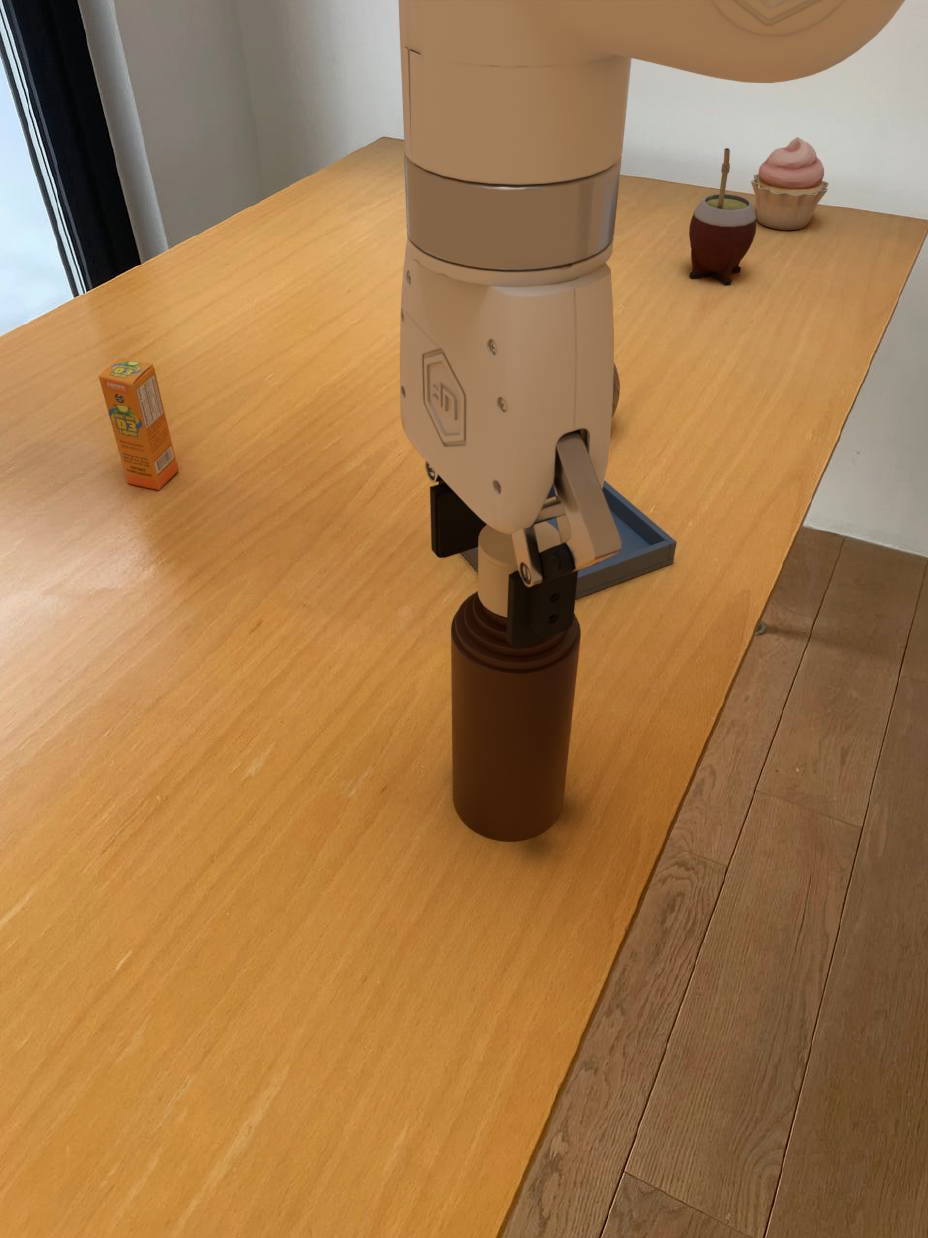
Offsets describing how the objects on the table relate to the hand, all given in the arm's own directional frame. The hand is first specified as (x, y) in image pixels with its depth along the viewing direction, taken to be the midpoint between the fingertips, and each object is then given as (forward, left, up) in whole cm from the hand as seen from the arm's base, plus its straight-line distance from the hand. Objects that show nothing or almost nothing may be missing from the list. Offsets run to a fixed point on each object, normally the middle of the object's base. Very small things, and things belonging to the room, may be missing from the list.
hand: (499, 587), depth 48 cm
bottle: (-1, 0, -16) cm, 16 cm away
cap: (-1, 0, 0) cm, 1 cm away
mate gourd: (-59, -52, -16) cm, 80 cm away
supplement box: (+8, -42, -16) cm, 46 cm away
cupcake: (-77, -61, -16) cm, 100 cm away
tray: (-16, -18, -16) cm, 29 cm away
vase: (-27, -32, -16) cm, 45 cm away
